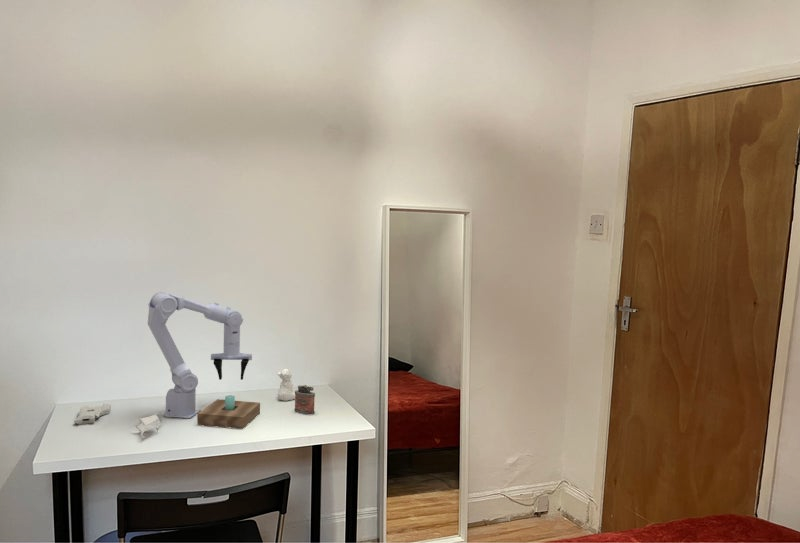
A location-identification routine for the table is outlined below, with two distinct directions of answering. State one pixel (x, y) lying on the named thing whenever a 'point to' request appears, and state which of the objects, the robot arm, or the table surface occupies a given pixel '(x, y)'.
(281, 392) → the white creature statuette
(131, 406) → the table surface
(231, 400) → the peg
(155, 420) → the origami figure
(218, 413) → the socket block
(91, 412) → the gun
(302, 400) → the lighter
